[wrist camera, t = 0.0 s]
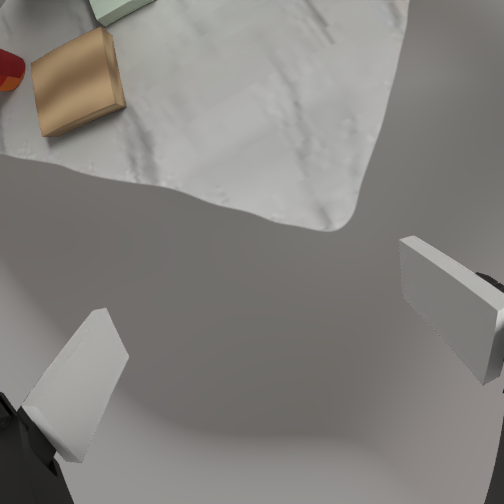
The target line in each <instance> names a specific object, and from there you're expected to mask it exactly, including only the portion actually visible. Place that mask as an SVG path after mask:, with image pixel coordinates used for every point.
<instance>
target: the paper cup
mask: <svg viewBox="0 0 504 504" xmlns="http://www.w3.org/2000/svg"><path fill="white" fill-rule="evenodd" d="M24 74H25V62H24V60H23V59H22V58H20V57H19V56H16V55H14V54H12V53H9V52H7V51H4V50H2V49H0V91H11V90H13V89H15V88H16V87H17V86H18V85H19V84H20V82H21V81H22V79H23V77H24Z"/></svg>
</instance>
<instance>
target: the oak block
mask: <svg viewBox="0 0 504 504" xmlns="http://www.w3.org/2000/svg"><path fill="white" fill-rule="evenodd" d="M31 71H32V80H33V87H34V94H35V101H36V107H37V113H38V118H39V124H40V129H41V134H42V137H58V136H60V135H62V134H64V133H66V132H68V131H70V130H72V129H75V128H77V127H79V126H81V125H83V124H86V123H88V122H90V121H93V120H95V119H97V118H100V117H102V116H104V115H107V114H109V113H112V112H114V111H117V110H119V109H122V108H125V107H127V106H126V102H125V98H124V93H123V88H122V84H121V79H120V74H119V69H118V64H117V59H116V54H115V48H114V43H113V37H112V35H111V34H110V33H108V32H107V31H106V30H104V29H103V28H102V27H98V28H96V29H94V30H92V31H90V32H88V33H86V34H84V35H82V36H80V37H78V38H76V39H74V40H72V41H70V42H68V43H66V44H64V45H62V46H60V47H58V48H57V49H55V50H53V51H51V52H50V53H48V54H46V55H44V56H43V57H41V58H39V59H38V60H36V61H34V62H33V63H31Z"/></svg>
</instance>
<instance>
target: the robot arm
mask: <svg viewBox="0 0 504 504" xmlns="http://www.w3.org/2000/svg"><path fill="white" fill-rule="evenodd" d="M399 246H400V259H401V275H402V296H403V297H404V298H405V299H406V300H407V301H408V302H409V304H410V305H411V306H412V307H413V308H414V309H415V310H416V311H417V312H418V313H419V314H420V315H421V316H422V317H423V318H424V319H425V320H426V322H427V323H428V324H429V325H430V326H431V327H432V328H433V329H434V330H435V331H436V333H437V334H439V336H440V337H441V338H442V339H443V340H444V341H445V343H446V344H447V345H448V346H449V347H450V348H451V349H452V350H453V351H454V353H455V354H456V355H457V356H458V357H459V358H460V359H461V361H462V362H463V363H464V364H465V365H466V366H467V368H468V369H469V370H470V371H471V372H472V374H473V375H474V376H475V377H476V378H477V379H478V381H479V382H480V383H481V384H482V385H484V384H486V383H488V382H490V381H492V380H494V379H496V378H497V377H499V376H500V374H501V370H502V366H503V362H504V285H502V284H501V283H498V282H497V281H496V280H495V279H493V278H491V277H490V276H488V275H484V274H481V273H478V272H477V273H473V272H472V271H470V270H468V269H467V268H466V267H464V266H462V265H461V264H459V263H458V262H456V261H455V260H453V259H451V258H450V257H448V256H447V255H445V254H443V253H442V252H440V251H438V250H437V249H435V248H434V247H432V246H430V245H429V244H427V243H425V242H424V241H422V240H420V239H419V238H417V237H415V236H411V237H407V238H403V239H399ZM128 359H129V355H128V354H127V352H126V350H125V347H124V346H123V344H122V341H121V339H120V337H119V335H118V333H117V331H116V329H115V326H114V324H113V322H112V320H111V318H110V315H109V313H108V311H107V308H102V309H98V310H93V311H92V312H91V313H90V315H89V316H88V317H87V318H86V320H85V321H84V322H83V323H82V325H81V326H80V327H79V328H78V330H77V331H76V332H75V333H74V335H73V336H72V337H71V338H70V340H69V341H68V342H67V344H66V345H65V346H64V347H63V349H62V350H61V352H60V353H59V354H58V355H57V357H56V358H55V359H54V361H53V362H52V363H51V365H50V366H49V367H48V369H47V370H46V371H45V373H44V374H43V375H42V377H41V378H40V380H39V381H38V382H37V384H36V385H35V386H34V388H33V389H32V391H31V392H30V393H29V395H28V396H27V397H26V399H25V400H24V402H23V403H22V405H21V406H20V408H19V409H18V411H17V412H16V410H15V409H14V408H13V406H12V405H11V403H10V402H9V401H8V399H7V398H6V396H5V395H4V393H2V392H0V504H74V502H73V500H72V497H71V495H70V492H69V490H68V488H67V485H66V482H65V480H64V477H63V474H62V471H61V469H60V466H59V464H58V462H57V461H56V460H55V458H54V455H55V453H56V451H57V452H58V453H59V454H60V455H61V456H62V457H63V459H64V460H65V461H67V462H76V463H82V462H83V459H84V456H85V454H86V452H87V449H88V447H89V445H90V442H91V440H92V437H93V435H94V433H95V430H96V428H97V426H98V424H99V421H100V419H101V417H102V415H103V412H104V410H105V408H106V406H107V403H108V401H109V399H110V397H111V395H112V392H113V390H114V388H115V386H116V384H117V382H118V380H119V377H120V375H121V373H122V371H123V369H124V367H125V365H126V363H127V360H128ZM503 393H504V390H503ZM484 504H504V418H503V425H502V431H501V437H500V443H499V448H498V452H497V457H496V462H495V466H494V471H493V474H492V479H491V482H490V486H489V489H488V493H487V496H486V500H485V503H484Z"/></svg>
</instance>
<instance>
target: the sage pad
mask: <svg viewBox="0 0 504 504" xmlns="http://www.w3.org/2000/svg"><path fill="white" fill-rule="evenodd" d="M89 1H90V4H91V6H92V9H93V12H94V14H95V17H96V19H97V21H99V22H100V23H101V24H102V25H104V26H105V27H106V26H108V25H109V24H111V23H113V22H115V21H116V20H118V19H120V18H122V17H123V16H125V15H127V14H129V13H131V12H133V11H134V10H136V9H138V8H140V7H142V6H144V5H146V4H148V3H150V2H152V1H154V0H89Z"/></svg>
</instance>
